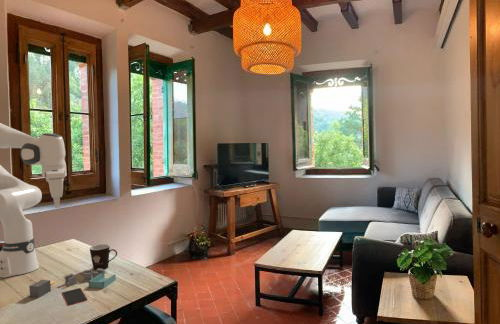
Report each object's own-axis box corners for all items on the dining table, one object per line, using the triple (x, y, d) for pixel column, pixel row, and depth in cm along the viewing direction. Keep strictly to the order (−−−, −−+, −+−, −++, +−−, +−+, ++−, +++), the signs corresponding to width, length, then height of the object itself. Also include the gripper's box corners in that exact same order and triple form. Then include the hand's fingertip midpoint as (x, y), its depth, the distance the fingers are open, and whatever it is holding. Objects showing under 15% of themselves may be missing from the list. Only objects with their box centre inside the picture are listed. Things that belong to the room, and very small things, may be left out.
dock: (88, 287, 142) (88, 281, 142) (101, 279, 150) (101, 273, 150) (103, 288, 140) (103, 282, 140) (115, 280, 148) (115, 274, 148)
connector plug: (30, 297, 134) (29, 286, 134) (50, 286, 144) (49, 275, 144) (38, 298, 133) (38, 286, 133) (58, 287, 143) (57, 276, 143)
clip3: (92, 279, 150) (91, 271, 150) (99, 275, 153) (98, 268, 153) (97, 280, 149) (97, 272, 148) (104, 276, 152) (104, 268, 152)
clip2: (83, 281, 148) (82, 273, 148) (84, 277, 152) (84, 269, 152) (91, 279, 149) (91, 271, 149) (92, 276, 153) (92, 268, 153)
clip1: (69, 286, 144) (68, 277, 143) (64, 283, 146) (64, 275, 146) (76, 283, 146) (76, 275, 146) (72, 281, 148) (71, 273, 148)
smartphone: (67, 305, 126) (61, 292, 137) (67, 307, 126) (61, 293, 137) (88, 299, 130) (80, 287, 141) (88, 301, 130) (80, 288, 141)
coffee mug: (86, 269, 161) (85, 248, 161) (102, 263, 169) (101, 243, 168) (104, 273, 156) (102, 251, 155) (119, 267, 163) (118, 246, 163)
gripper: (45, 171, 152) (47, 203, 152) (46, 174, 134) (48, 210, 135) (61, 170, 155) (63, 201, 156) (64, 173, 137) (67, 208, 138)
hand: (56, 205), depth 145 cm, fingers open, 8 cm apart
